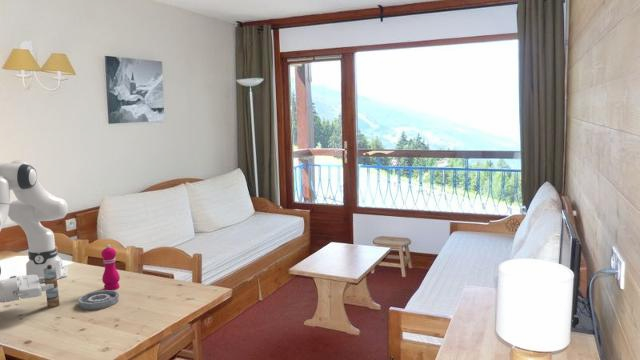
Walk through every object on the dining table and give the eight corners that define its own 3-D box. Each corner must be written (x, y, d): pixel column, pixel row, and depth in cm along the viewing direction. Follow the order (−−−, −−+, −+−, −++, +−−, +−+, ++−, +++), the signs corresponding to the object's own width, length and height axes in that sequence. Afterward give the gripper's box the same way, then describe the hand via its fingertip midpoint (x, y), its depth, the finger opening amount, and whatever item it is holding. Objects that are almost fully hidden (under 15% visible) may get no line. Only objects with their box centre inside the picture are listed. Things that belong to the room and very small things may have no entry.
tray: (83, 298, 215) (83, 292, 215) (121, 294, 218) (121, 288, 218) (75, 311, 201) (74, 305, 200) (115, 307, 204) (115, 301, 203)
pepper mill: (114, 291, 223) (110, 246, 220) (99, 290, 224) (95, 246, 221) (123, 285, 230) (120, 242, 227) (109, 285, 231) (105, 242, 228)
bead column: (49, 304, 210) (45, 263, 207) (60, 302, 211) (56, 262, 208) (46, 308, 205) (41, 266, 203) (57, 306, 206) (53, 265, 204)
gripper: (13, 289, 190) (54, 281, 198) (11, 275, 208) (49, 268, 215) (15, 305, 191) (56, 297, 199) (13, 290, 208) (50, 283, 216)
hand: (52, 282), depth 207 cm, fingers open, 8 cm apart
